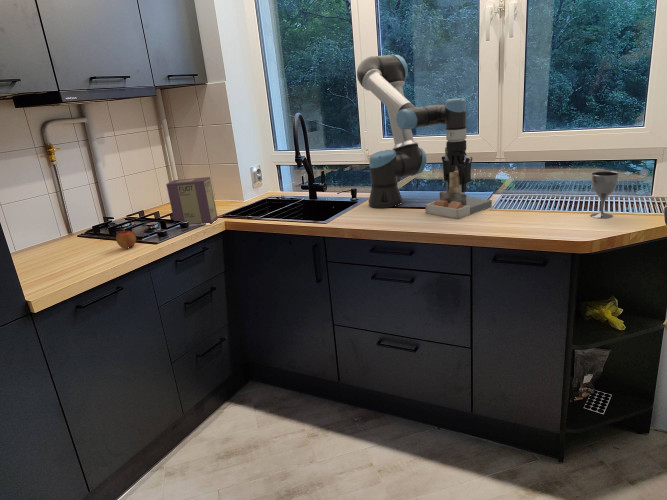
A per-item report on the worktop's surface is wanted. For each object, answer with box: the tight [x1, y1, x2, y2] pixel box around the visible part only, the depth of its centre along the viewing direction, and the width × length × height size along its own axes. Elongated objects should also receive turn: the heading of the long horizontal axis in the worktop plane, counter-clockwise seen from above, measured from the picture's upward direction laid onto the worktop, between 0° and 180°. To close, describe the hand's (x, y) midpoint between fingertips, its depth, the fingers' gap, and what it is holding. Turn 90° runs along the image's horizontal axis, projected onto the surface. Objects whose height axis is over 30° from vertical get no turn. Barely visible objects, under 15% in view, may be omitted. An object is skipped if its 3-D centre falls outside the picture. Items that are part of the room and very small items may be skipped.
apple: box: [115, 228, 137, 249], centre depth 187 cm, size 7×7×8 cm
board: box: [448, 196, 493, 215], centre depth 193 cm, size 16×14×3 cm
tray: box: [424, 201, 471, 220], centre depth 187 cm, size 16×7×4 cm, turn 37°
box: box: [165, 176, 219, 224], centre depth 211 cm, size 17×9×20 cm, turn 86°
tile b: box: [447, 201, 463, 209], centre depth 185 cm, size 4×4×2 cm
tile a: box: [434, 199, 448, 207], centre depth 189 cm, size 4×4×2 cm
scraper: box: [439, 171, 467, 205], centre depth 188 cm, size 12×6×12 cm, turn 37°
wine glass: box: [589, 170, 620, 220], centre depth 163 cm, size 8×8×15 cm
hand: (457, 199), depth 190 cm, fingers closed on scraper, 4 cm apart
